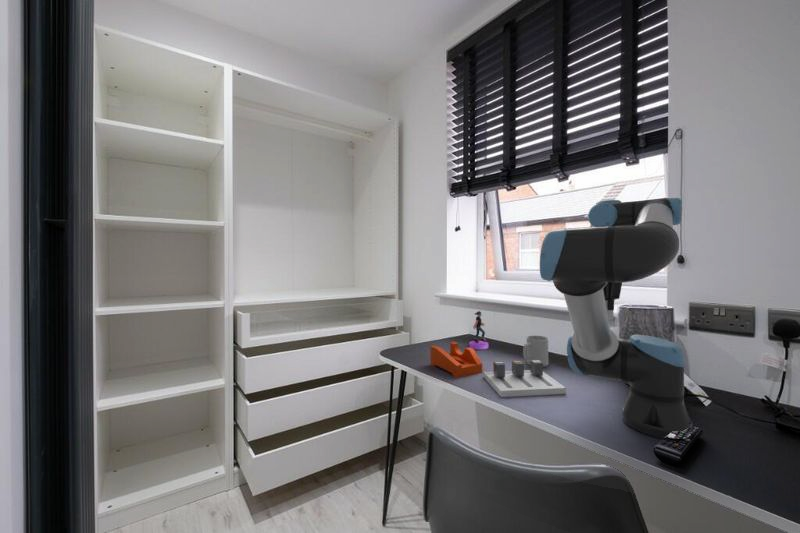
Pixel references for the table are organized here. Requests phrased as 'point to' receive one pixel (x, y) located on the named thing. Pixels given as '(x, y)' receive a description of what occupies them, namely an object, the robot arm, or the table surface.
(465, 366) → the tape dispenser
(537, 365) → the block
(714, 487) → the table surface
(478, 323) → the figurine
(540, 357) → the mug
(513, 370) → the block
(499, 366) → the block
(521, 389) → the panel
